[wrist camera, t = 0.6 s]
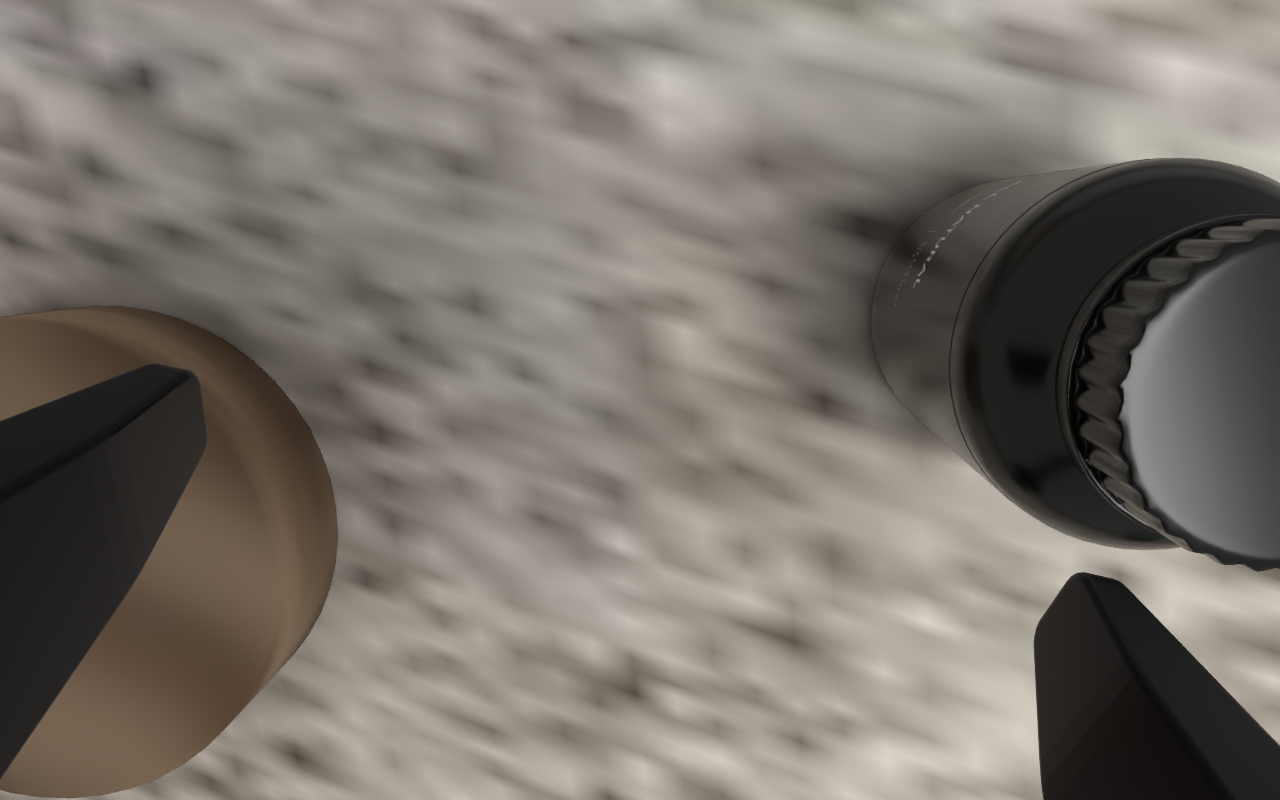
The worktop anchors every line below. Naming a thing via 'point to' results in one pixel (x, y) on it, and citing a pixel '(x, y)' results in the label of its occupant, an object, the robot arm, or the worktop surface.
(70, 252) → the worktop surface
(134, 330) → the walnut plinth
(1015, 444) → the supplement bottle
